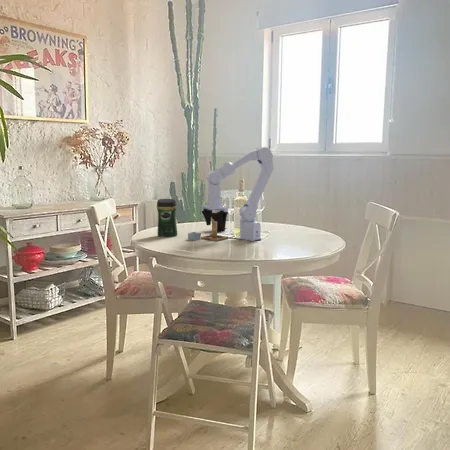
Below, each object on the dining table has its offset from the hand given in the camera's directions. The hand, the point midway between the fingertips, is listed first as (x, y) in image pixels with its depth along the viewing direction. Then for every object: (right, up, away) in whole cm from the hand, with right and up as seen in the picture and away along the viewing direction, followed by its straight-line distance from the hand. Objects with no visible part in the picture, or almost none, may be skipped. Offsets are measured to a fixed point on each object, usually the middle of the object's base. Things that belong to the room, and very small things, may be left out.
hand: (214, 226), depth 228 cm
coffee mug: (+2, -3, +28) cm, 28 cm away
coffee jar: (-23, -5, +9) cm, 26 cm away
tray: (0, -7, +1) cm, 7 cm away
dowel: (0, -6, +1) cm, 6 cm away
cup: (-10, -7, 0) cm, 12 cm away
